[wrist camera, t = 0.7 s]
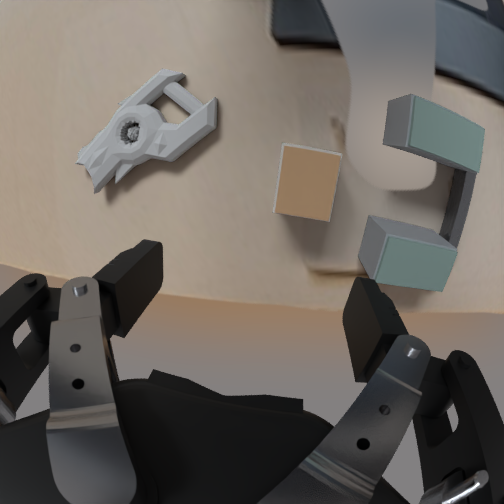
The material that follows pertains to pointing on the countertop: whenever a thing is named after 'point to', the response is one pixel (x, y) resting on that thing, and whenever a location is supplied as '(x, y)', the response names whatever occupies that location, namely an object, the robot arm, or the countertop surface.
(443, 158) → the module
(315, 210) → the block
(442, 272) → the block
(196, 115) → the grey flat plastic piece
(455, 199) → the rail
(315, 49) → the countertop surface
